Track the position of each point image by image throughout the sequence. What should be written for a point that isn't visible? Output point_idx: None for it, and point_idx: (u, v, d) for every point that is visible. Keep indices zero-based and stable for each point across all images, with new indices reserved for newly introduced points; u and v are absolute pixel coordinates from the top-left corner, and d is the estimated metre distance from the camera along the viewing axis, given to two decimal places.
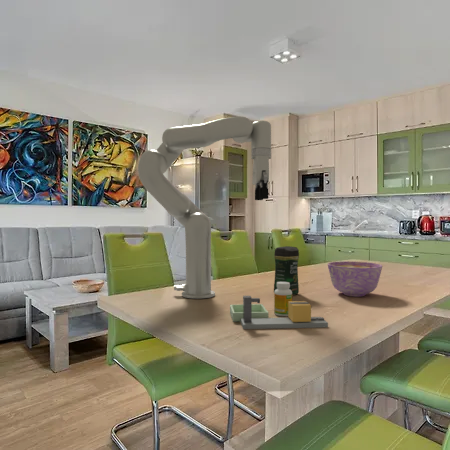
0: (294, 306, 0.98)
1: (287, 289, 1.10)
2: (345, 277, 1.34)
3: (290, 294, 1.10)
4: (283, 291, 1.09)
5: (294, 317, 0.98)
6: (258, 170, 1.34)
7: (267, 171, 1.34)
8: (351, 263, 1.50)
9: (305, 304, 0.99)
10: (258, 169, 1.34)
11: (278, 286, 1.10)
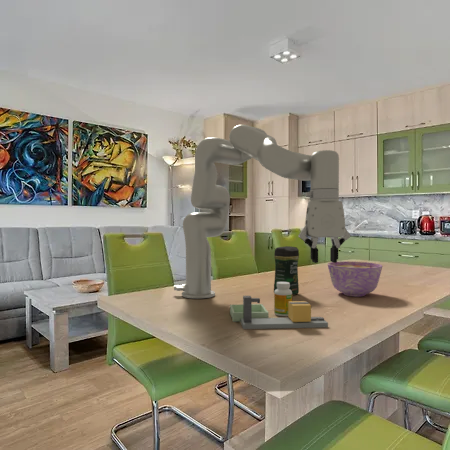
0: (294, 306, 0.98)
1: (287, 289, 1.10)
2: (345, 277, 1.34)
3: (290, 294, 1.10)
4: (283, 291, 1.09)
5: (294, 317, 0.98)
6: (344, 220, 0.99)
7: None
8: (351, 263, 1.50)
9: (305, 304, 0.99)
10: (344, 219, 0.99)
11: (278, 286, 1.10)
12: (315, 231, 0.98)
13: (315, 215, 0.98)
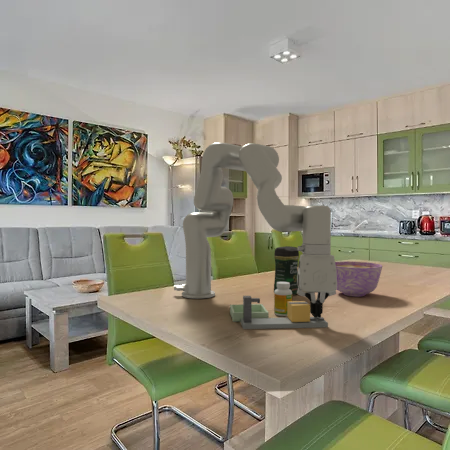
0: (293, 306, 0.98)
1: (287, 289, 1.10)
2: (345, 277, 1.34)
3: (290, 294, 1.10)
4: (283, 291, 1.09)
5: (293, 317, 0.98)
6: (336, 275, 0.99)
7: None
8: (351, 263, 1.50)
9: (304, 304, 0.99)
10: None
11: (278, 286, 1.10)
12: (307, 286, 0.98)
13: (307, 270, 0.98)
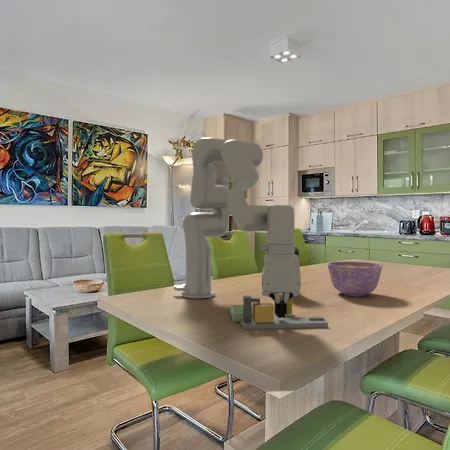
0: (257, 307, 0.97)
1: None
2: (345, 277, 1.34)
3: None
4: None
5: (257, 318, 0.97)
6: None
7: None
8: (351, 263, 1.50)
9: (268, 305, 0.98)
10: None
11: None
12: (270, 287, 0.97)
13: (270, 270, 0.97)
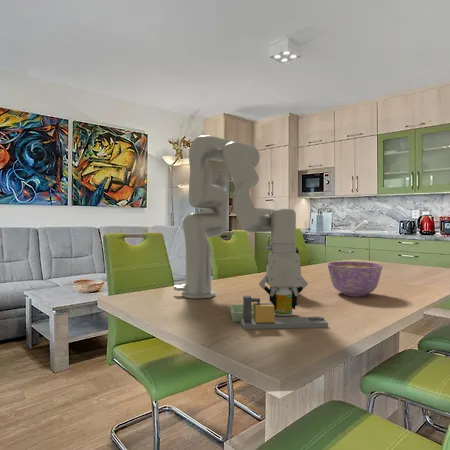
0: (257, 307, 0.97)
1: (287, 289, 1.10)
2: (345, 277, 1.34)
3: (290, 294, 1.10)
4: (283, 291, 1.09)
5: (257, 318, 0.97)
6: (300, 271, 1.10)
7: None
8: (351, 263, 1.50)
9: (269, 305, 0.98)
10: (300, 270, 1.10)
11: None
12: (274, 282, 1.08)
13: (274, 267, 1.08)
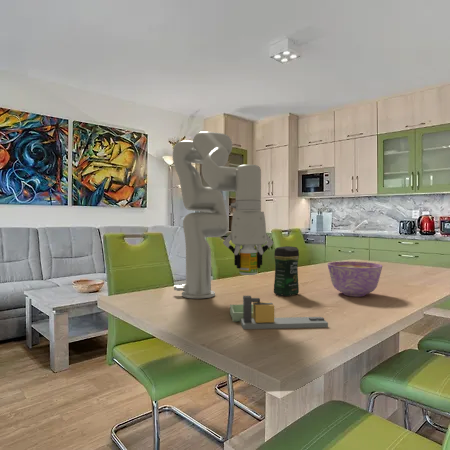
0: (257, 307, 0.97)
1: (252, 247, 1.07)
2: (345, 277, 1.34)
3: (255, 253, 1.07)
4: (248, 249, 1.06)
5: (257, 318, 0.97)
6: (265, 229, 1.07)
7: None
8: (351, 263, 1.50)
9: (269, 305, 0.98)
10: (265, 228, 1.07)
11: None
12: (237, 239, 1.05)
13: (237, 224, 1.05)
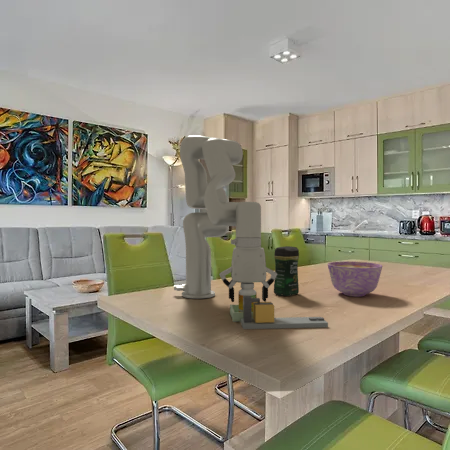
0: (257, 307, 0.97)
1: (251, 289, 1.07)
2: (345, 277, 1.34)
3: (254, 295, 1.07)
4: (247, 291, 1.07)
5: (257, 318, 0.97)
6: (265, 266, 1.07)
7: None
8: (351, 263, 1.50)
9: (269, 305, 0.98)
10: (265, 265, 1.07)
11: (242, 286, 1.08)
12: (237, 277, 1.06)
13: (237, 262, 1.06)
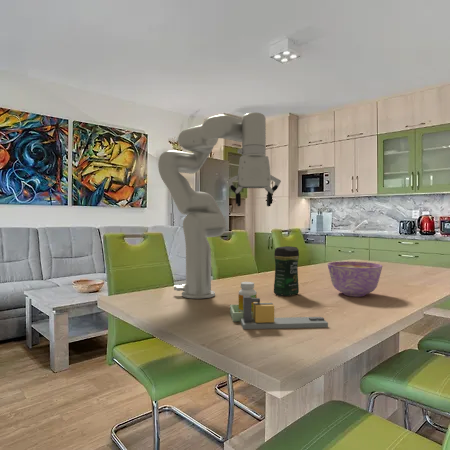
0: (257, 307, 0.97)
1: (251, 289, 1.07)
2: (345, 277, 1.34)
3: (254, 295, 1.07)
4: (247, 291, 1.07)
5: (257, 318, 0.97)
6: None
7: None
8: (351, 263, 1.50)
9: (269, 305, 0.98)
10: None
11: (242, 286, 1.08)
12: (244, 181, 1.14)
13: (244, 168, 1.14)
